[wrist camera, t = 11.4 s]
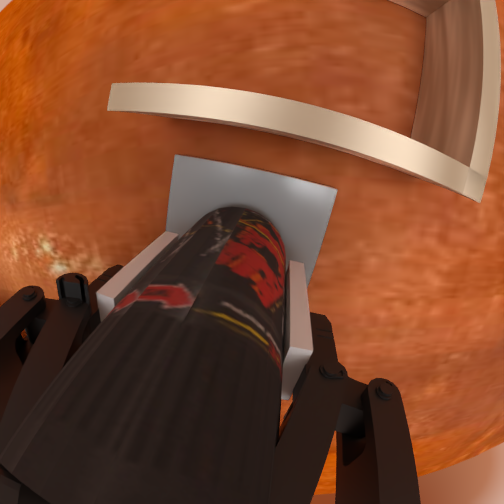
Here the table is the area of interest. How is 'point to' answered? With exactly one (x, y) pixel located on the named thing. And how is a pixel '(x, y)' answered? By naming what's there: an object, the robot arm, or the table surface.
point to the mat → (252, 202)
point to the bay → (367, 134)
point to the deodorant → (171, 381)
